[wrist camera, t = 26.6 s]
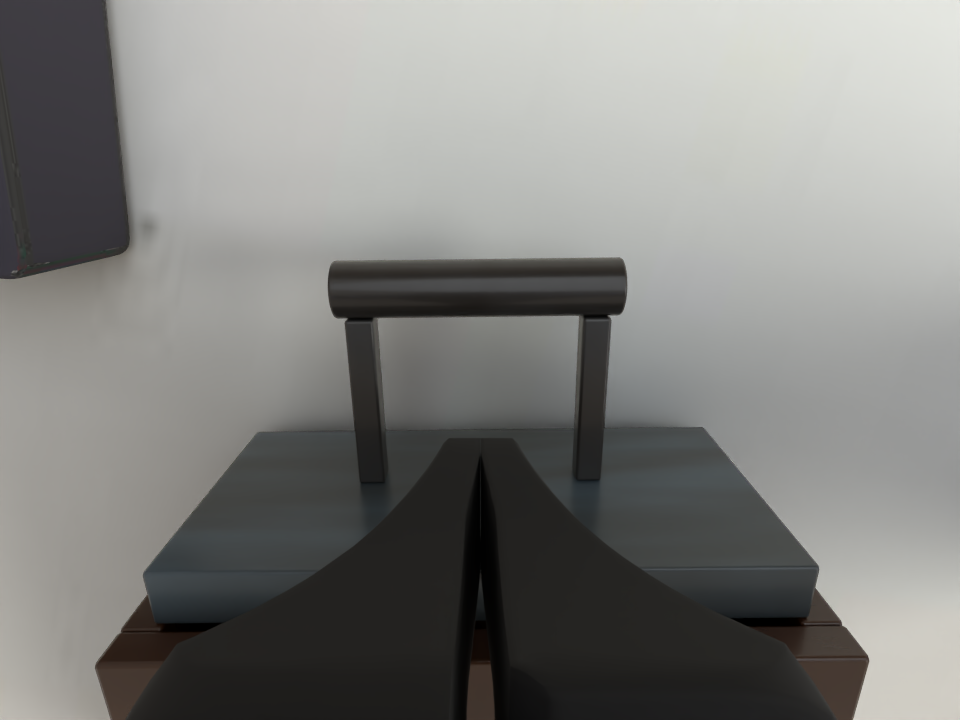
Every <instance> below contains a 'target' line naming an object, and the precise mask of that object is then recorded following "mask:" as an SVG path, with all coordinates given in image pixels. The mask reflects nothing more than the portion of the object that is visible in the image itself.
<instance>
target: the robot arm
mask: <svg viewBox="0 0 960 720" xmlns="http://www.w3.org/2000/svg"><path fill="white" fill-rule="evenodd" d="M481 581H482V591H483V600H484V609H485V618H486V627H487V636H488V645H489V654H490V663H491V672H492V682H493V696H494V717H495V720H837V718H836V716H835V715H834V713H833V712H832V710H831V709H830V707H829V705H828V703H827V702H826V700H825V699H824V697H823V696H822V694H821V693H820V691H819V690H818V688H817V687H816V685H815V683H814V682H813V680H812V679H811V678H810V676H809V675H808V674H807V672H806V671H805V670H804V668H803V667H802V666H801V664H800V663H799V662H798V660H797V659H796V658H795V656H794V655H793V654H792V652H791V651H790V649H789V648H788V647H787V645H786V644H785V643H784V642H781V641H779V640H777V639H775V638H772V637H770V636H768V635H766V634H764V633H761V632H759V631H757V630H755V629H752V628H750V627H748V626H746V625H743V624H741V623H739V622H737V621H735V620H732V619H730V618H728V617H726V616H723V615H721V614H719V613H717V612H715V611H713V610H711V609H709V608H707V607H705V606H703V605H701V604H700V603H698V602H696V601H694V600H692V599H690V598H689V597H687V596H685V595H683V594H681V593H679V592H677V591H676V590H674V589H672V588H671V587H669V586H667V585H666V584H664V583H662V582H661V581H659V580H657V579H656V578H654V577H652V576H651V575H649V574H648V573H646V572H645V571H643V570H642V569H640V568H639V567H637V566H636V565H634V564H633V563H631V562H630V561H629V560H627V559H626V558H624V557H623V556H621V555H620V554H619V553H617V552H616V551H615V550H613V549H612V548H611V547H609V546H608V545H607V544H606V543H604V542H603V541H602V540H601V539H600V538H598V537H597V536H596V535H595V534H594V533H592V532H591V531H590V530H589V529H588V528H586V527H585V526H584V525H583V524H582V523H581V522H580V521H579V520H578V519H577V518H576V517H575V516H574V515H573V514H572V513H571V512H570V511H569V510H568V509H567V508H566V507H565V506H564V505H563V503H562V502H561V501H560V500H559V499H558V498H557V497H556V496H555V494H554V493H553V492H552V491H551V490H550V488H549V487H548V486H547V485H546V484H545V482H544V481H543V480H542V479H541V477H540V476H539V475H538V473H537V472H536V471H535V469H534V468H533V467H532V465H531V464H530V462H529V461H528V460H527V458H526V457H525V455H524V454H523V452H522V450H521V449H520V447H519V445H518V443H517V442H516V441H515V440H514V439H513V438H481ZM479 582H480V438H449V439H447V440H446V441H445V442H444V443H443V445H442V447H441V448H440V450H439V452H438V453H437V455H436V456H435V458H434V459H433V461H432V462H431V464H430V465H429V467H428V468H427V469H426V471H425V472H424V473H423V475H422V476H421V477H420V478H419V480H418V481H417V482H416V483H415V485H414V486H413V487H412V488H411V490H410V491H409V492H408V493H407V494H406V496H405V497H404V498H403V499H402V500H401V501H400V502H399V503H398V504H397V505H396V506H395V507H394V509H393V510H392V511H391V512H390V513H389V514H388V515H387V516H386V517H385V518H384V519H383V520H382V521H381V522H380V523H379V524H378V525H377V526H376V527H375V528H374V529H373V530H371V531H370V532H369V533H368V534H367V535H366V536H365V537H363V538H362V539H361V540H360V541H359V542H358V543H357V544H355V545H354V546H353V547H352V548H350V549H349V550H347V551H346V552H345V553H343V554H342V555H340V556H339V557H337V558H336V559H335V560H333V561H332V562H330V563H329V564H328V565H326V566H325V567H323V568H322V569H320V570H319V571H318V572H316V573H315V574H313V575H312V576H310V577H309V578H307V579H305V580H304V581H302V582H300V583H299V584H297V585H295V586H294V587H292V588H290V589H289V590H287V591H285V592H283V593H282V594H280V595H278V596H276V597H274V598H273V599H271V600H269V601H267V602H265V603H264V604H262V605H260V606H258V607H256V608H254V609H252V610H250V611H248V612H246V613H244V614H242V615H240V616H238V617H235V618H233V619H231V620H229V621H227V622H224V623H222V624H220V625H218V626H216V627H214V628H211V629H209V630H207V631H205V632H203V633H201V634H198V635H196V636H194V637H192V638H189V639H187V640H185V641H182V642H180V643H177V645H176V646H175V647H174V649H173V650H172V651H171V653H170V654H169V656H168V657H167V658H166V660H165V661H164V662H163V664H162V665H161V666H160V668H159V669H158V670H157V672H156V673H155V674H154V676H153V677H152V678H151V680H150V681H149V683H148V684H147V686H146V687H145V689H144V690H143V692H142V693H141V695H140V697H139V698H138V700H137V701H136V703H135V704H134V706H133V707H132V709H131V711H130V712H129V714H128V716H127V717H126V719H125V720H467V700H468V685H469V674H470V665H471V656H472V647H473V637H474V628H475V619H476V610H477V600H478V591H479Z"/></svg>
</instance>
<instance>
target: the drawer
mask: <svg viewBox="0 0 960 720" xmlns="http://www.w3.org/2000/svg"><path fill="white" fill-rule="evenodd" d="M328 297H329V303H330V308H331V311H332V313H333V315H334V317H336V318H338V319H340V318H348V319H347V320H346V321H345V332H346V342H347V353H348V363H349V374H350V385H351V395H352V406H353V417H354V427H355V431H303V432H258V433H257V434H256V435H255V436H254V437H253V439H252V440H251V441H250V442H249V444H248V445H247V446H246V447H245V449H244V450H243V451H242V452H241V453H240V455H239V456H238V457H237V458H236V460H235V461H234V462H233V463H232V464H231V466H230V467H229V468H228V469H227V471H226V472H225V473H224V474H223V475H222V477H221V478H220V479H219V480H218V482H217V483H216V484H215V485H214V487H213V488H212V489H211V490H210V491H209V493H208V494H207V495H206V496H205V498H204V499H203V500H202V501H201V502H200V504H199V505H198V506H197V507H196V509H195V510H194V511H193V512H192V514H191V515H190V516H189V517H188V518H187V520H186V521H185V522H184V523H183V525H182V526H181V527H180V528H179V529H178V531H177V532H176V533H175V534H174V536H173V537H172V538H171V539H170V541H169V542H168V543H167V544H166V545H165V547H164V548H163V549H162V550H161V552H160V553H159V554H158V555H157V556H156V558H155V559H154V560H153V561H152V563H151V564H150V565H149V566H148V568H147V569H146V570H145V571H144V573H143V578H144V582H145V586H146V590H147V594H148V598H149V602H150V606H151V610H152V614H153V618H154V622H155V623H157V624H181V623H224V622H227V621H229V620H231V619H233V618H235V617H238V616H240V615H242V614H244V613H246V612H248V611H250V610H252V609H254V608H256V607H258V606H260V605H262V604H264V603H265V602H267V601H269V600H271V599H273V598H274V597H276V596H278V595H280V594H282V593H283V592H285V591H287V590H289V589H290V588H292V587H294V586H295V585H297V584H299V583H300V582H302V581H304V580H305V579H307V578H309V577H310V576H312V575H313V574H315V573H316V572H318V571H319V570H320V569H322V568H323V567H325V566H326V565H328V564H329V563H330V562H332V561H333V560H335V559H336V558H337V557H339V556H340V555H342V554H343V553H345V552H346V551H347V550H349V549H350V548H352V547H353V546H354V545H355V544H357V543H358V542H359V541H360V540H361V539H362V538H363V537H365V536H366V535H367V534H368V533H369V532H370V531H371V530H373V529H374V528H375V527H376V526H377V525H378V524H379V523H380V522H381V521H382V520H383V519H384V518H385V517H386V516H387V515H388V514H389V513H390V512H391V511H392V510H393V509H394V507H395V506H396V505H397V504H398V503H399V502H400V501H401V500H402V499H403V498H404V497H405V496H406V494H407V493H408V492H409V491H410V490H411V488H412V487H413V486H414V485H415V483H416V482H417V481H418V480H419V478H420V477H421V476H422V475H423V473H424V472H425V471H426V469H427V468H428V467H429V465H430V464H431V462H432V461H433V459H434V458H435V456H436V455H437V453H438V452H439V450H440V448H441V447H442V445H443V443H444V442H445V441H446V440H447V439H449V438H480V582H479V591H478V600H477V610H476V619H475V628H474V629H487V627H486V618H485V609H484V600H483V591H482V581H481V438H513V439H514V440H515V441H516V442H517V443H518V445H519V447H520V449H521V450H522V452H523V454H524V455H525V457H526V458H527V460H528V461H529V462H530V464H531V465H532V467H533V468H534V469H535V471H536V472H537V473H538V475H539V476H540V477H541V479H542V480H543V481H544V482H545V484H546V485H547V486H548V487H549V488H550V490H551V491H552V492H553V493H554V494H555V496H556V497H557V498H558V499H559V500H560V501H561V502H562V503H563V505H564V506H565V507H566V508H567V509H568V510H569V511H570V512H571V513H572V514H573V515H574V516H575V517H576V518H577V519H578V520H579V521H580V522H581V523H582V524H583V525H584V526H585V527H586V528H588V529H589V530H590V531H591V532H592V533H594V534H595V535H596V536H597V537H598V538H600V539H601V540H602V541H603V542H604V543H606V544H607V545H608V546H609V547H611V548H612V549H613V550H615V551H616V552H617V553H619V554H620V555H621V556H623V557H624V558H626V559H627V560H629V561H630V562H631V563H633V564H634V565H636V566H637V567H639V568H640V569H642V570H643V571H645V572H646V573H648V574H649V575H651V576H652V577H654V578H656V579H657V580H659V581H661V582H662V583H664V584H666V585H667V586H669V587H671V588H672V589H674V590H676V591H677V592H679V593H681V594H683V595H685V596H687V597H689V598H690V599H692V600H694V601H696V602H698V603H700V604H701V605H703V606H705V607H707V608H709V609H711V610H713V611H715V612H717V613H719V614H721V615H723V616H726V617H728V618H730V619H731V618H806V617H808V616H809V613H810V608H811V604H812V599H813V595H814V591H815V586H816V582H817V577H818V573H819V566H818V565H817V563H816V562H815V561H814V560H813V559H812V557H811V556H810V555H809V554H808V553H807V551H806V550H805V549H804V548H803V547H802V545H801V544H800V543H799V542H798V541H797V539H796V538H795V537H794V536H793V535H792V533H791V532H790V531H789V530H788V529H787V527H786V526H785V525H784V524H783V523H782V521H781V520H780V519H779V518H778V517H777V515H776V514H775V513H774V512H773V511H772V509H771V508H770V507H769V506H768V504H767V503H766V502H765V501H764V500H763V498H762V497H761V496H760V495H759V494H758V492H757V491H756V490H755V489H754V488H753V486H752V485H751V484H750V483H749V482H748V480H747V479H746V478H745V477H744V476H743V474H742V473H741V472H740V471H739V470H738V468H737V467H736V466H735V465H734V464H733V462H732V461H731V460H730V459H729V458H728V456H727V455H726V454H725V453H724V452H723V450H722V449H721V448H720V447H719V446H718V444H717V443H716V442H715V441H714V440H713V438H712V437H711V436H710V435H709V434H708V432H707V431H706V430H705V429H704V428H702V427H674V428H604V424H605V409H606V394H607V379H608V364H609V349H610V334H611V318H610V317H609V316H608V315H620V314H621V313H622V312H623V310H624V307H625V303H626V297H627V272H626V267H625V263H624V261H623V259H621V258H538V259H455V260H372V261H334V262H333V263H332V264H331V266H330V270H329V275H328ZM512 316H579V331H578V353H577V374H576V395H575V416H574V429H488V430H395V431H386V430H385V417H384V403H383V390H382V376H381V363H380V349H379V336H378V322H377V318H426V317H512Z"/></svg>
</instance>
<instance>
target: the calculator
mask: <svg viewBox="0 0 960 720" xmlns="http://www.w3.org/2000/svg"><path fill="white" fill-rule="evenodd" d="M128 245H129V226H128V216H127V207H126V197H125V187H124V177H123V168H122V158H121V148H120V139H119V129H118V119H117V109H116V100H115V90H114V80H113V71H112V61H111V51H110V41H109V32H108V22H107V12H106V3H105V0H0V278H1V279H16V278H22V277H26V276H30V275H35V274H39V273H43V272H47V271H52V270H56V269H60V268H64V267H69V266H73V265H77V264H82V263H86V262H90V261H94V260H99V259H103V258H107V257H111V256H115V255H118V254H121V253H123V252H124V251H125V250H126V249H127V248H128Z"/></svg>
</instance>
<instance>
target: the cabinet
mask: <svg viewBox="0 0 960 720" xmlns="http://www.w3.org/2000/svg"><path fill="white" fill-rule="evenodd" d="M731 619H732V620H735V621H737V622H739V623H741V624H743V625H746V626H748V627H750V628H752V629H755V630H757V631H759V632H761V633H764V634H766V635H768V636H770V637H772V638H775V639H777V640H779V641H781V642H784V643H785V644H786V645H787V647H788V648H789V649H790V651H791V652H792V654H793V655H794V656H795V658H796V659H797V660H798V662H799V663H800V664H801V666H802V667H803V668H804V670H805V671H806V672H807V674H808V675H809V676H810V678H811V679H812V680H813V682H814V683H815V685H816V687H817V688H818V690H819V691H820V693H821V694H822V696H823V697H824V699H825V700H826V702H827V703H828V705H829V707H830V709H831V710H832V712H833V713H834V715H835V716H836V718H837V720H853V718H854V714H855V711H856V707H857V703H858V700H859V696H860V693H861V689H862V685H863V682H864V678H865V675H866V671H867V667H868V664H869V658H868V655H867V654H866V653H865V651H864V650H863V649H862V647H861V646H860V645H859V644H858V642H857V641H856V640H855V638H854V637H853V636H852V635H851V633H850V632H849V631H848V630H847V628H845V627H844V626H842V622H841V620H840V619H839V618H838V616H837V615H836V614H835V613H834V611H833V610H832V609H831V607H830V606H829V605H828V604H827V602H826V601H825V600H824V598H823V597H822V596H821V595H820V593H819V592H818V591H817V589H816V588H815V591H814V595H813V599H812V604H811V608H810V613H809V616H808V617H806V618H731ZM220 624H222V623H181V624H157V623H155V622H154V618H153V614H152V610H151V606H150V602H149V598H148V595H147V596H146V597H145V598H144V600H143V601H142V602H141V604H140V605H139V606H138V608H137V609H136V610H135V612H134V613H133V614H132V615H131V617H130V618H129V619H128V621H127V622H126V623H125V625H124V626H123V627H122V629H121V633H120V634H118V635H117V636H116V637H115V639H114V640H113V641H112V643H111V644H110V645H109V647H108V648H107V649H106V651H105V652H104V653H103V655H102V656H101V657H100V658H99V660H98V661H97V663H96V666H95V669H96V673H97V676H98V679H99V682H100V686H101V689H102V692H103V695H104V699H105V702H106V705H107V708H108V712H109V715H110V718H111V720H125V719H126V717H127V716H128V714H129V712H130V711H131V709H132V707H133V706H134V704H135V703H136V701H137V700H138V698H139V697H140V695H141V693H142V692H143V690H144V689H145V687H146V686H147V684H148V683H149V681H150V680H151V678H152V677H153V676H154V674H155V673H156V672H157V670H158V669H159V668H160V666H161V665H162V664H163V662H164V661H165V660H166V658H167V657H168V656H169V654H170V653H171V651H172V650H173V649H174V647H175V646H176V645H177V643H180V642H182V641H185V640H187V639H189V638H192V637H194V636H196V635H198V634H201V633H203V632H205V631H207V630H209V629H211V628H214V627H216V626H218V625H220ZM467 720H495V717H494V696H493V682H492V672H491V663H490V654H489V645H488V636H487V629H474V637H473V647H472V656H471V665H470V674H469V685H468V700H467Z"/></svg>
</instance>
